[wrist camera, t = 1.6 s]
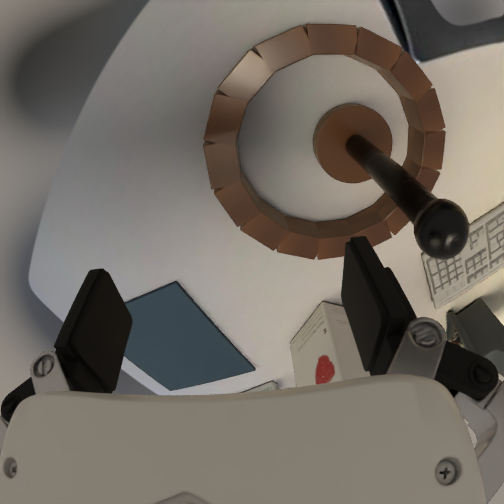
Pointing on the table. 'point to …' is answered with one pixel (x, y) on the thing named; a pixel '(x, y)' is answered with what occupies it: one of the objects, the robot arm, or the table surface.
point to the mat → (179, 341)
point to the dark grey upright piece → (478, 333)
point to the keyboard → (469, 260)
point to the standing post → (387, 176)
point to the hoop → (251, 81)
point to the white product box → (326, 349)
